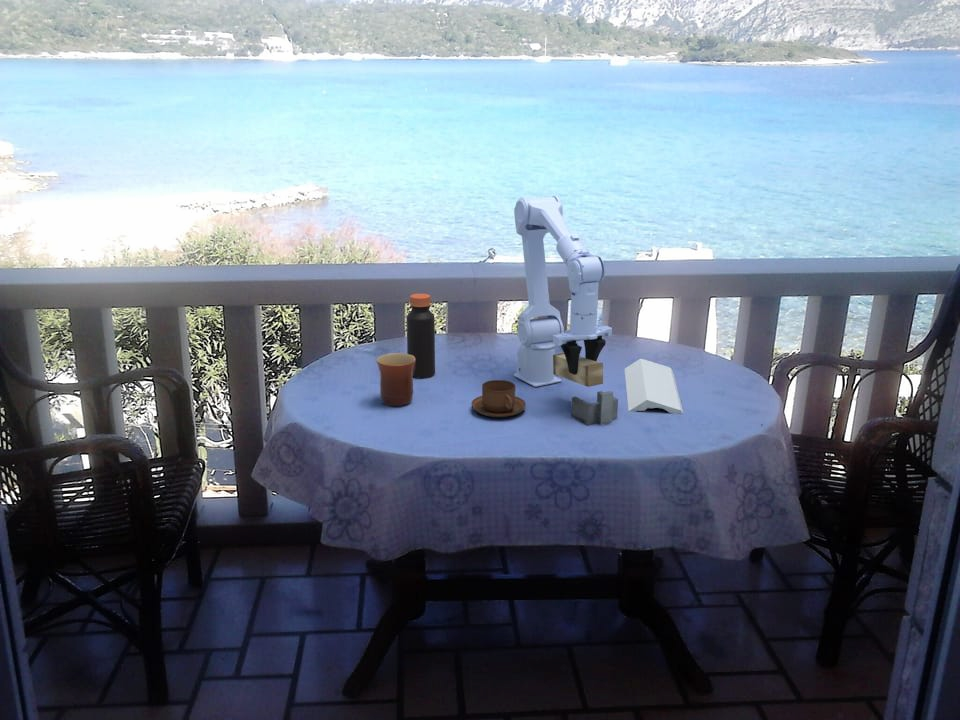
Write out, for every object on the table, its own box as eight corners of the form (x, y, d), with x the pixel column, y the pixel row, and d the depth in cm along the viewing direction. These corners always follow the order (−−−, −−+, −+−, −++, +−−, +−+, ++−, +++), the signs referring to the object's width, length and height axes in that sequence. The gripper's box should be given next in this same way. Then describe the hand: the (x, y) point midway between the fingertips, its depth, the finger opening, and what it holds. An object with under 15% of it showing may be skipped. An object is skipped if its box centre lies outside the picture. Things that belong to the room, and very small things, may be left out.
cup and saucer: (536, 411, 197) (537, 385, 195) (499, 426, 189) (499, 399, 187) (497, 397, 205) (497, 372, 203) (460, 411, 197) (460, 385, 195)
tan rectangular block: (553, 374, 201) (552, 354, 200) (567, 371, 203) (567, 351, 202) (588, 386, 190) (588, 366, 189) (603, 383, 192) (603, 363, 191)
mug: (403, 411, 196) (402, 367, 193) (370, 404, 200) (368, 361, 196) (430, 394, 206) (429, 352, 203) (397, 388, 210) (396, 347, 207)
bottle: (436, 369, 222) (435, 292, 216) (434, 379, 216) (433, 299, 210) (409, 369, 223) (407, 292, 216) (406, 378, 216) (404, 299, 210)
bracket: (571, 416, 194) (572, 386, 192) (600, 409, 198) (601, 380, 196) (591, 427, 188) (592, 397, 186) (620, 420, 192) (622, 390, 190)
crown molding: (683, 416, 196) (685, 401, 195) (627, 414, 197) (628, 399, 196) (672, 373, 223) (673, 359, 222) (623, 371, 225) (623, 357, 224)
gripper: (567, 320, 184) (565, 382, 188) (622, 311, 191) (618, 371, 195) (548, 313, 190) (546, 372, 194) (601, 304, 197) (598, 362, 201)
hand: (581, 371), depth 195 cm, fingers closed on tan rectangular block, 4 cm apart
